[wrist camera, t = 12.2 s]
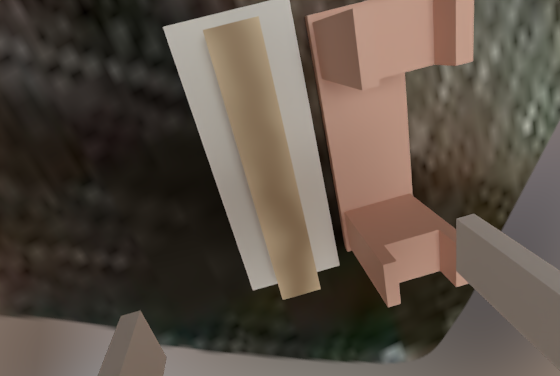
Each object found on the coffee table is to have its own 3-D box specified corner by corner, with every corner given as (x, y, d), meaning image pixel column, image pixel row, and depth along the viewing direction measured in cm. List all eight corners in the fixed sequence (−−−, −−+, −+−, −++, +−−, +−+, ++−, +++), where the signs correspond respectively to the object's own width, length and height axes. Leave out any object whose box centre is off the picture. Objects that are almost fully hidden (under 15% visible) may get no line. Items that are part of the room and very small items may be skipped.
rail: (277, 275, 32) (282, 300, 29) (205, 33, 23) (202, 30, 20) (311, 265, 32) (320, 288, 29) (254, 21, 23) (258, 16, 20)
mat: (252, 286, 33) (252, 290, 32) (164, 27, 23) (162, 26, 22) (337, 261, 33) (339, 265, 32) (287, -3, 23) (288, -5, 23)
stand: (344, 247, 32) (385, 313, 24) (304, 16, 24) (345, -2, 16) (410, 228, 33) (472, 287, 25) (394, -6, 24) (480, -36, 16)
